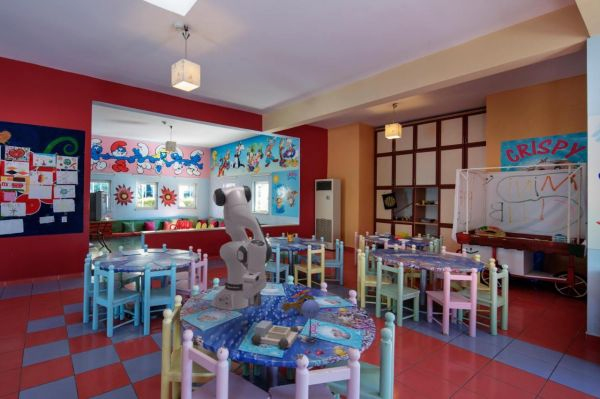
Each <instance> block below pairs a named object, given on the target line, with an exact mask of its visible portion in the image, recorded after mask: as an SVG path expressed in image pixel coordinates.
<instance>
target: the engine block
mask: <svg viewBox="0 0 600 399" xmlns="http://www.w3.org/2000/svg"><path fill="white" fill-rule="evenodd" d="M254 300H255V303H254V304H250V298H248V306H247V307H256V308H258V307H260V306H261V305H262V293H260V294H259V293H257V294H255V295H254Z"/></svg>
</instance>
